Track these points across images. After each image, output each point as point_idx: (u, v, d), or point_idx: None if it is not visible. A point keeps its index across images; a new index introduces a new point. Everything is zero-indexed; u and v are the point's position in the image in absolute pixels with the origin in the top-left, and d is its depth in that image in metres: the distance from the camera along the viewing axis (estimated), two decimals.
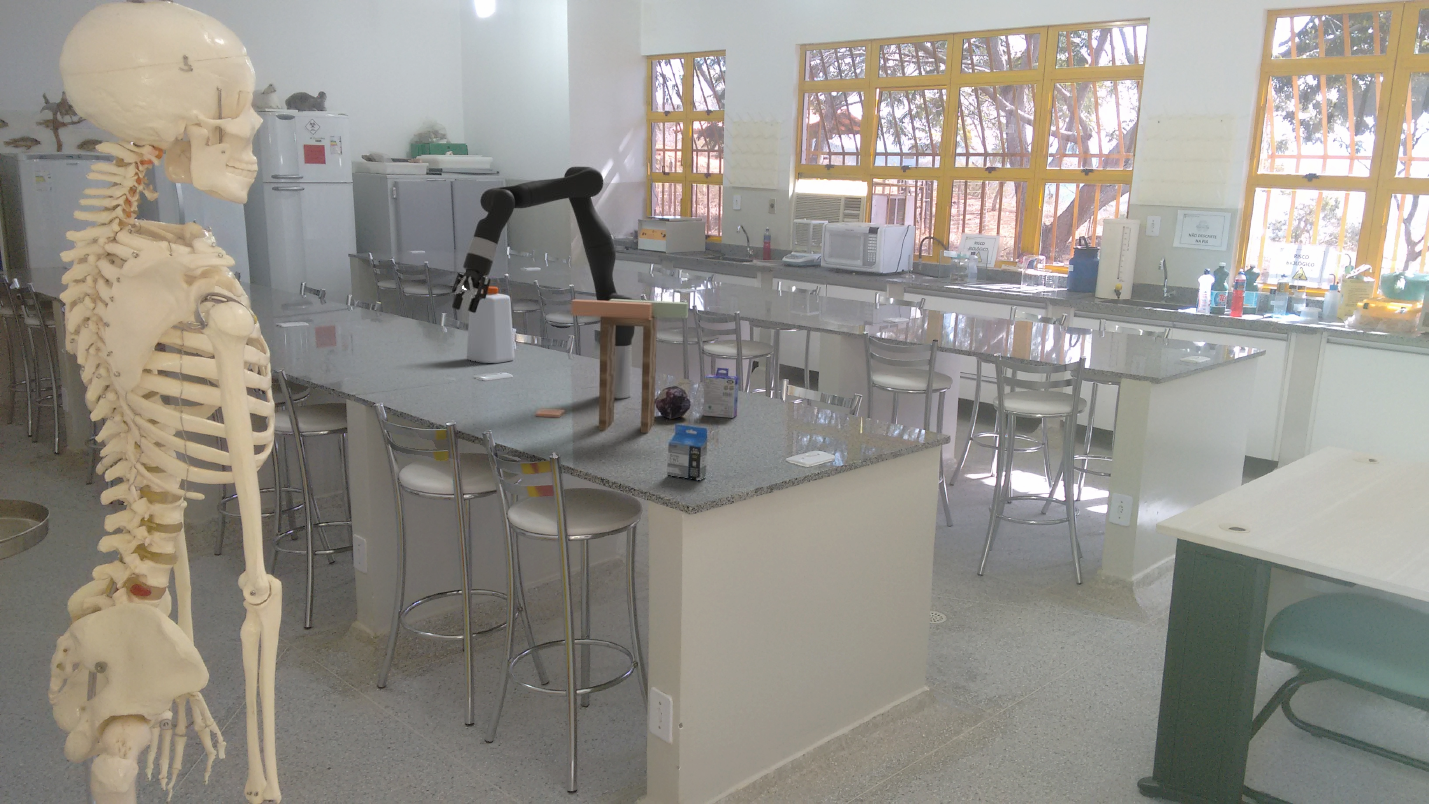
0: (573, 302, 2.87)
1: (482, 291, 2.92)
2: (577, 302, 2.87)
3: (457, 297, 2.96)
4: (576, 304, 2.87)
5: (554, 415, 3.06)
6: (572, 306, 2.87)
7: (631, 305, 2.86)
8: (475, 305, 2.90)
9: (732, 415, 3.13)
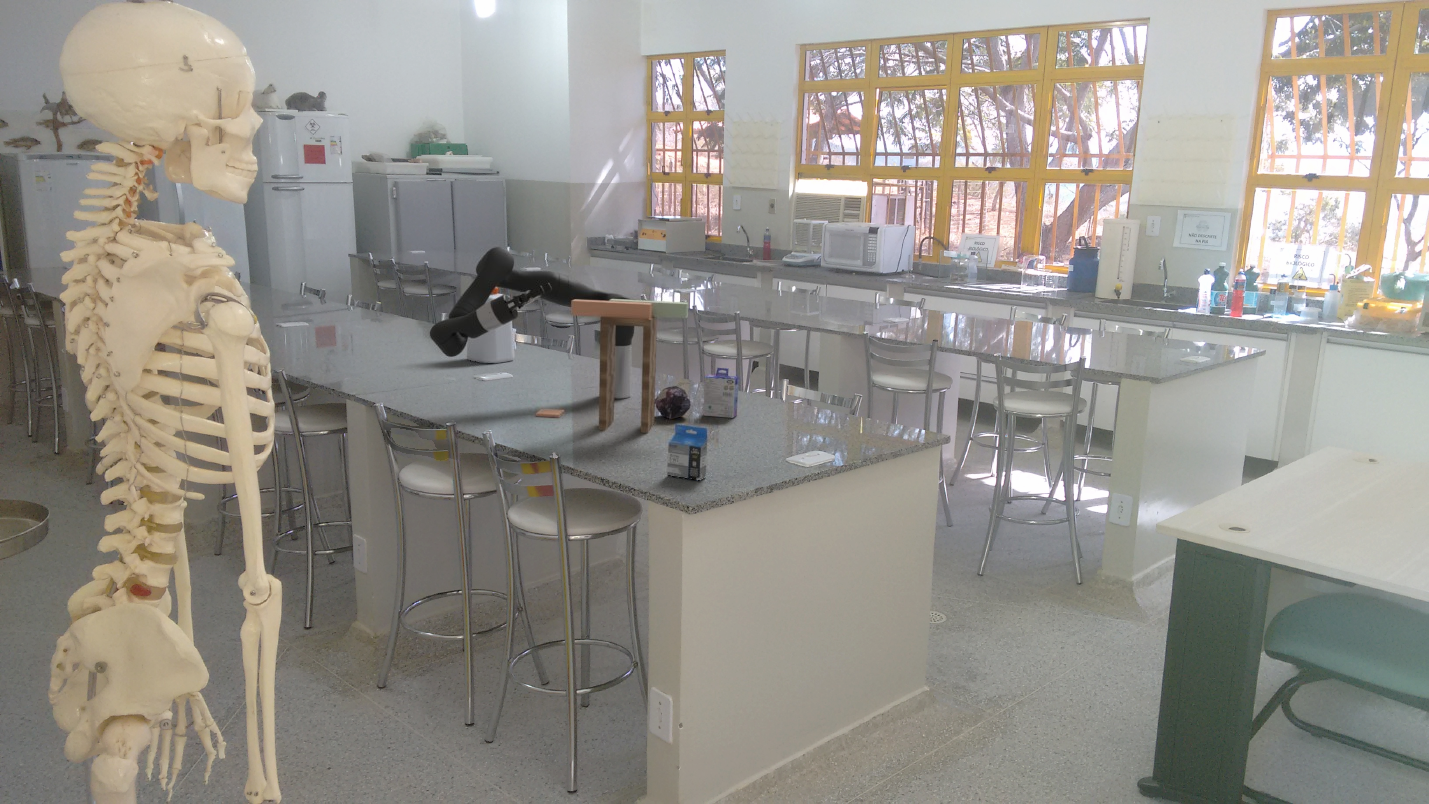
0: (573, 302, 2.87)
1: (519, 294, 2.86)
2: (577, 302, 2.87)
3: (541, 293, 2.93)
4: (576, 304, 2.87)
5: (554, 415, 3.06)
6: (572, 306, 2.87)
7: (631, 305, 2.86)
8: (535, 292, 2.84)
9: (732, 415, 3.13)
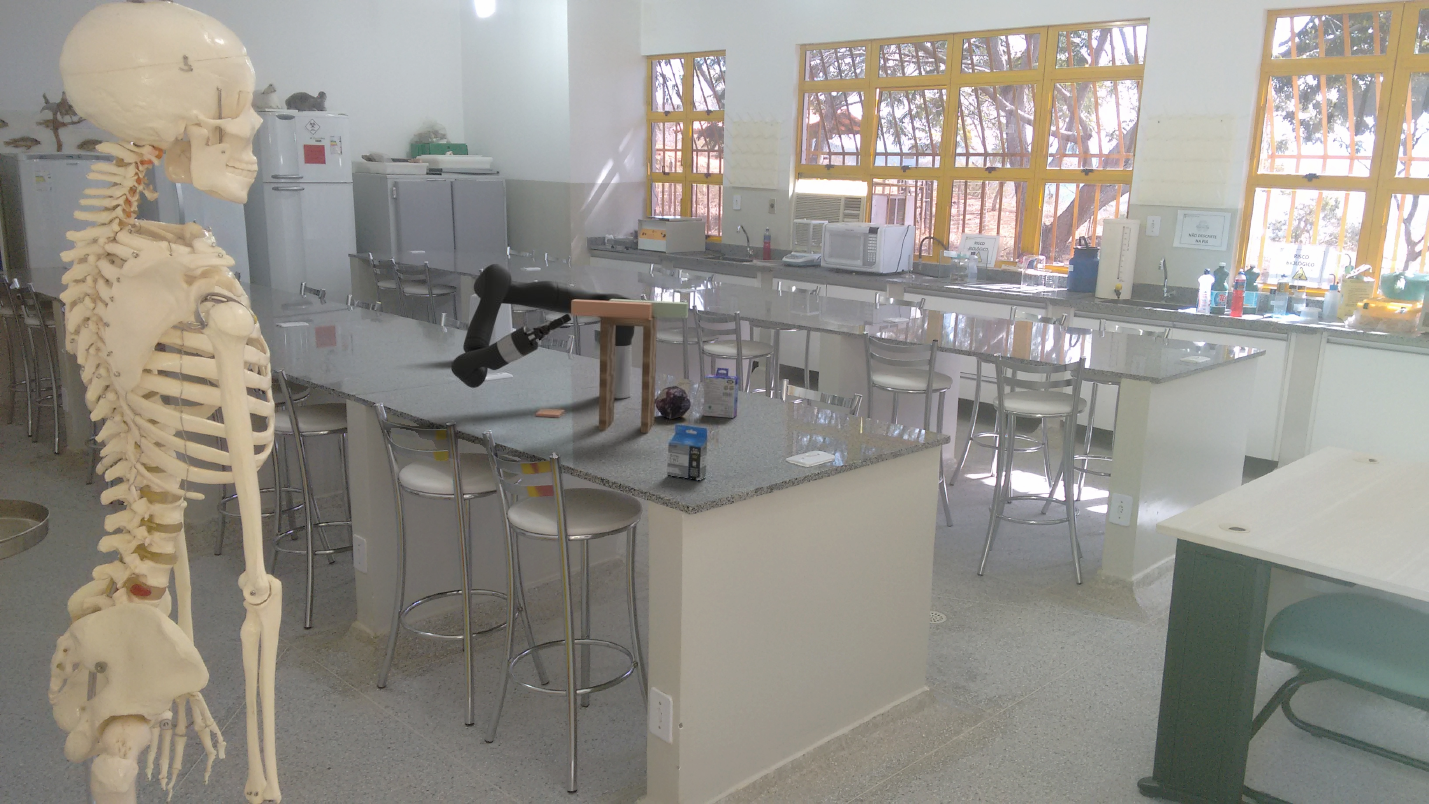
0: (573, 302, 2.87)
1: (539, 325, 2.87)
2: (577, 302, 2.87)
3: None
4: (576, 304, 2.87)
5: (554, 415, 3.06)
6: (572, 306, 2.87)
7: (631, 305, 2.86)
8: (555, 324, 2.85)
9: (732, 415, 3.13)
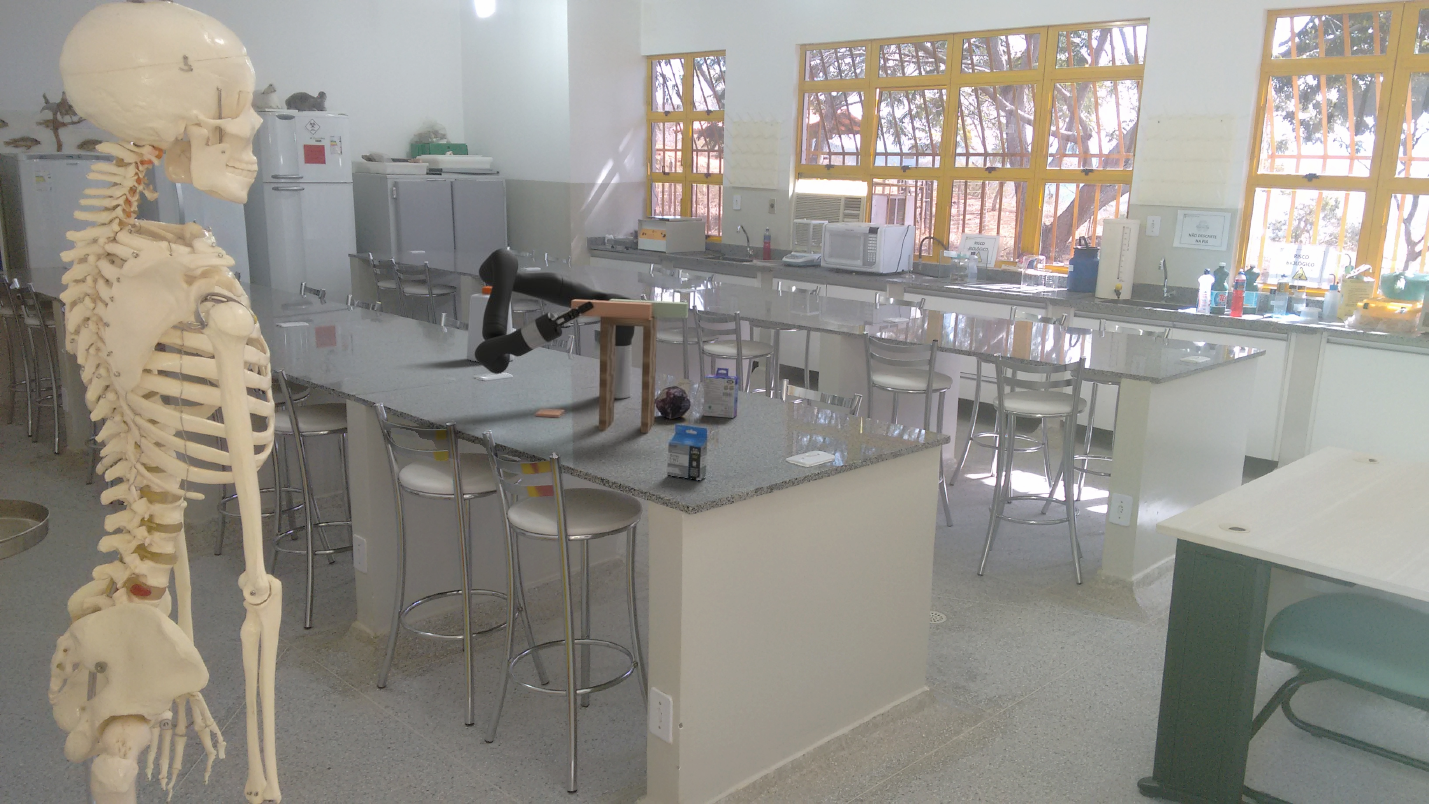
0: (573, 302, 2.87)
1: (568, 310, 2.87)
2: (577, 302, 2.87)
3: None
4: (576, 304, 2.87)
5: (554, 415, 3.06)
6: (572, 306, 2.87)
7: (631, 305, 2.86)
8: (585, 307, 2.86)
9: (732, 415, 3.13)
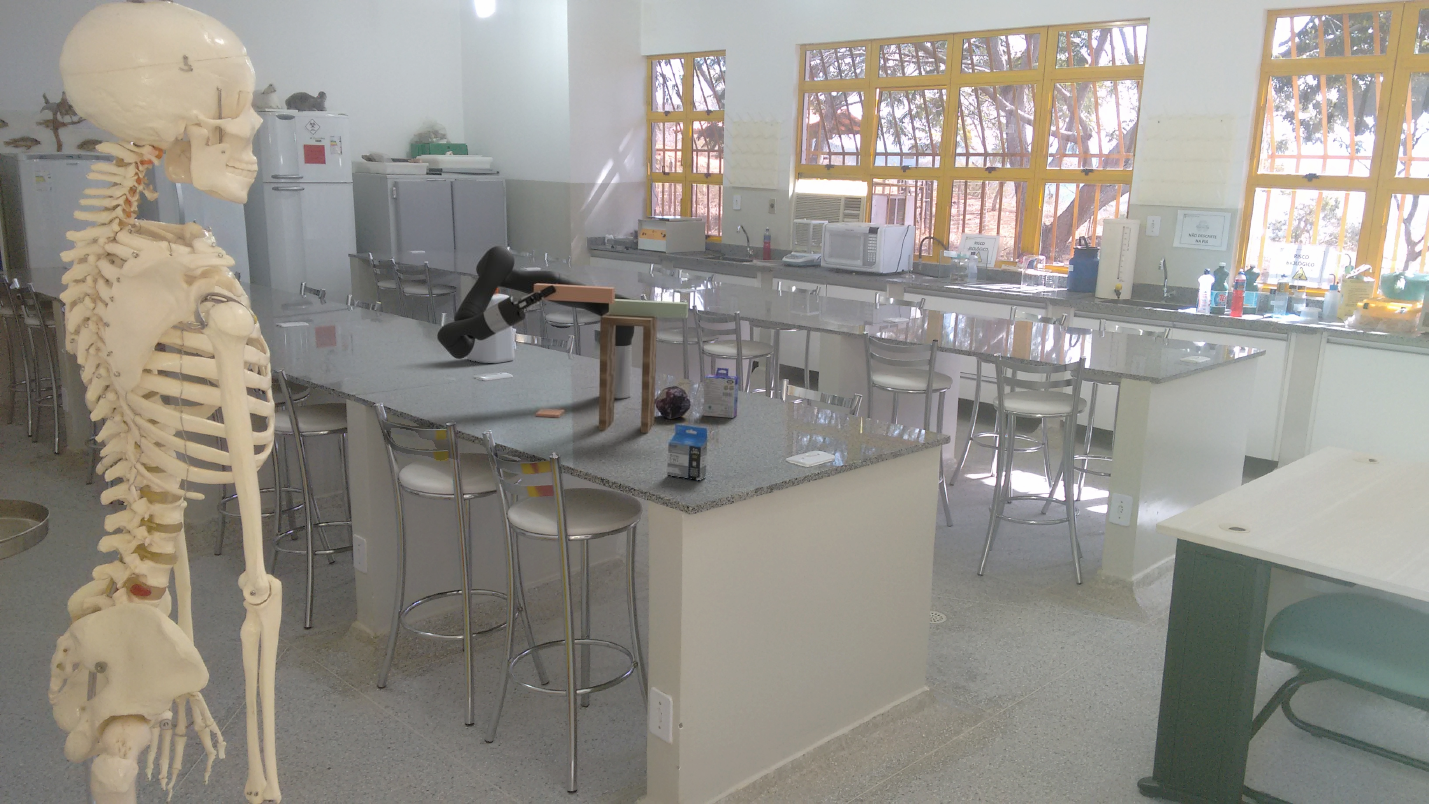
0: (536, 286, 2.87)
1: (530, 293, 2.87)
2: (540, 286, 2.87)
3: None
4: (539, 288, 2.87)
5: (554, 415, 3.06)
6: (535, 290, 2.87)
7: (593, 289, 2.86)
8: (547, 291, 2.86)
9: (732, 415, 3.13)
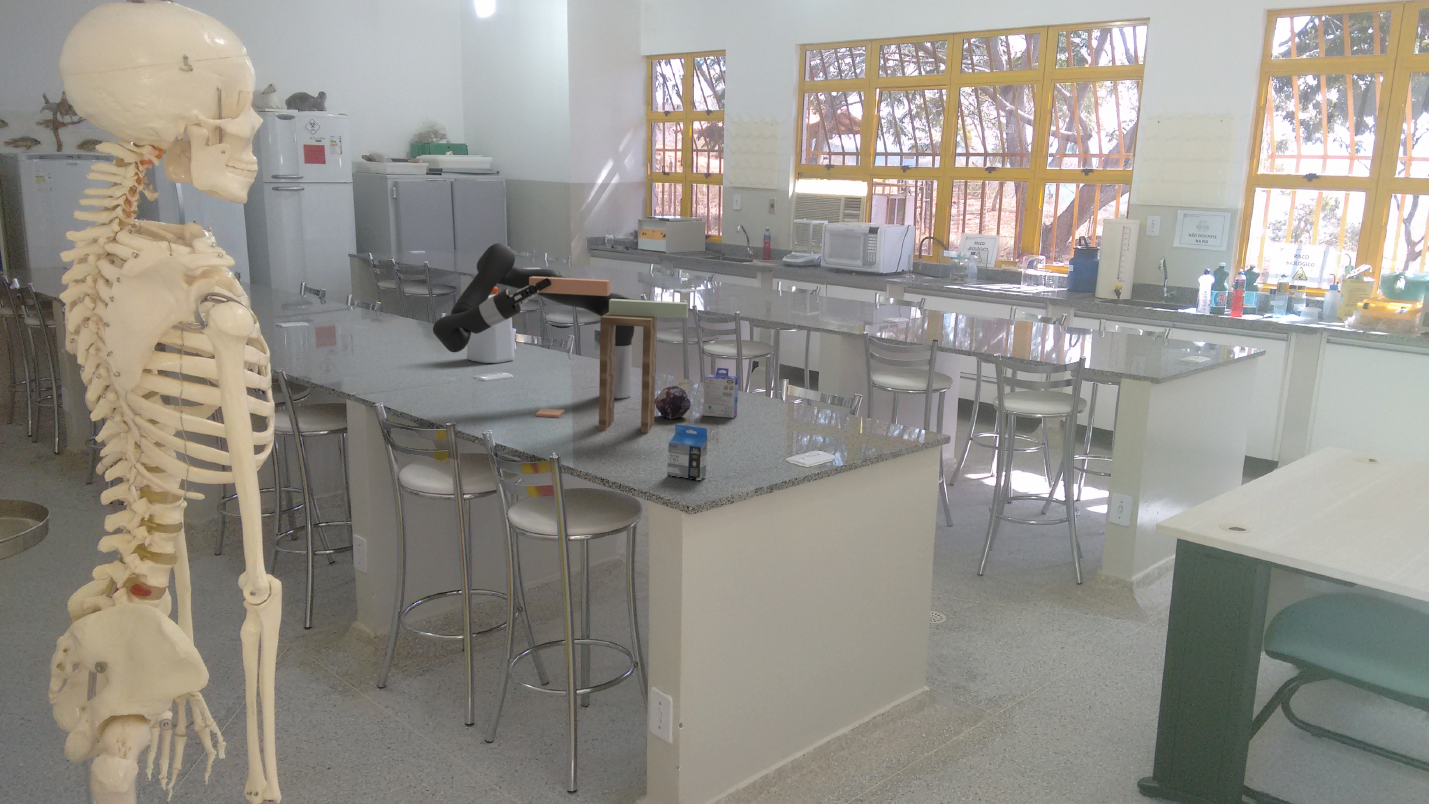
0: (531, 279, 2.87)
1: (525, 286, 2.86)
2: (535, 279, 2.87)
3: None
4: (534, 281, 2.87)
5: (554, 415, 3.06)
6: (530, 283, 2.87)
7: (589, 282, 2.85)
8: (542, 284, 2.85)
9: (732, 415, 3.13)
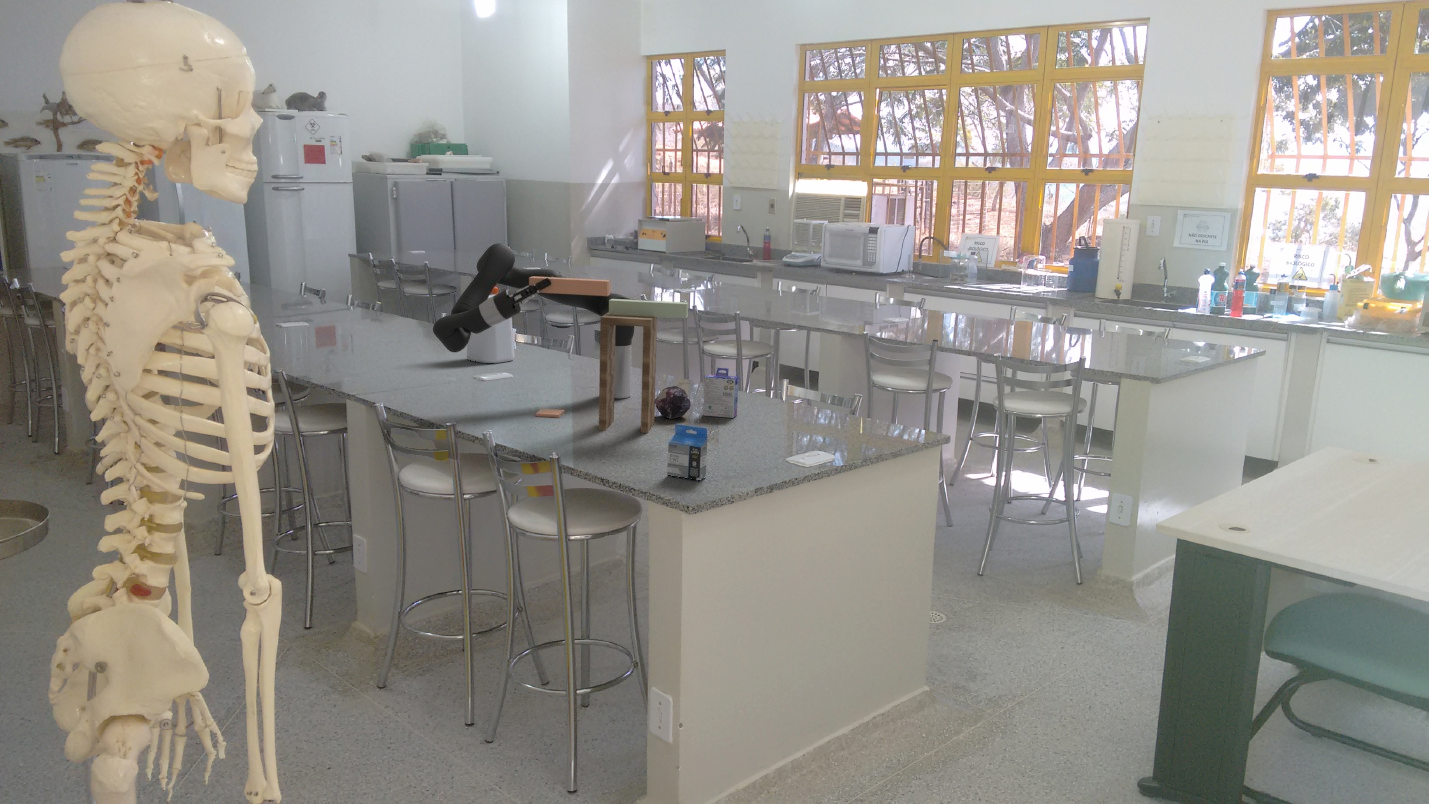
0: (531, 279, 2.87)
1: (525, 286, 2.86)
2: (535, 279, 2.87)
3: None
4: (534, 281, 2.87)
5: (554, 415, 3.06)
6: (530, 283, 2.87)
7: (589, 282, 2.85)
8: (542, 284, 2.85)
9: (732, 415, 3.13)
